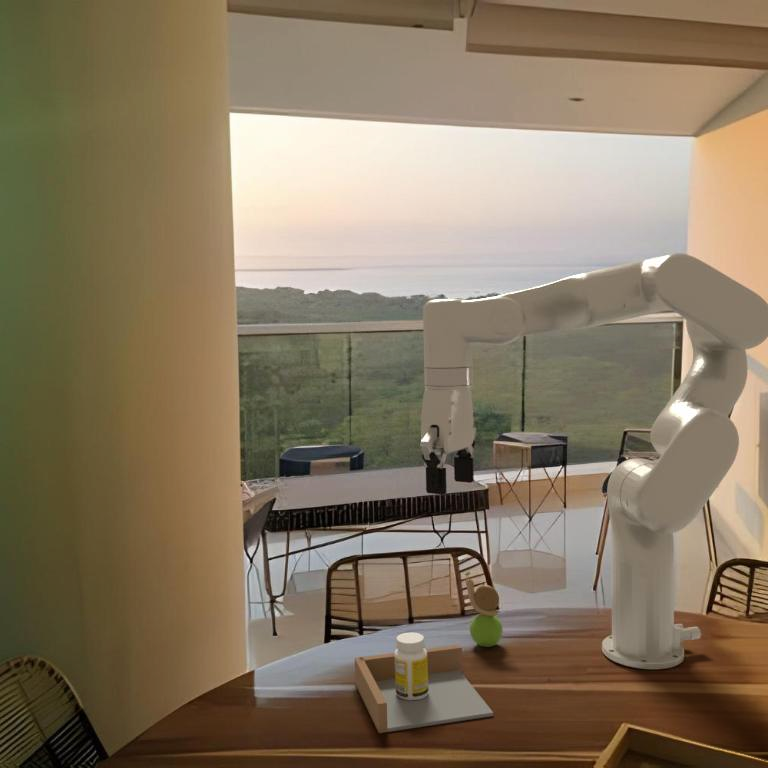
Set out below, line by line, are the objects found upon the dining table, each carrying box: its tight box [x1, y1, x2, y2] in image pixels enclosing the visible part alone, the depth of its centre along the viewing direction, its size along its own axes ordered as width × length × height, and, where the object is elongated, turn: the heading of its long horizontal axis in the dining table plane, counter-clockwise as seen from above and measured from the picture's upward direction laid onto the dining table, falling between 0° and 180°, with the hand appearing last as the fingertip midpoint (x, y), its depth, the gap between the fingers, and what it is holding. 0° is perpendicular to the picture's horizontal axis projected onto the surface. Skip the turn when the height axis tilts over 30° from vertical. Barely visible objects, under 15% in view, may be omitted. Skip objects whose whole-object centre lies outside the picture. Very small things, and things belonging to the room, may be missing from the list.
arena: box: [354, 644, 494, 734], centre depth 114 cm, size 17×15×4 cm
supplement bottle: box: [394, 632, 428, 700], centre depth 114 cm, size 5×5×8 cm
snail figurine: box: [464, 571, 504, 648], centre depth 132 cm, size 5×6×12 cm
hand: (450, 487), depth 124 cm, fingers open, 9 cm apart
